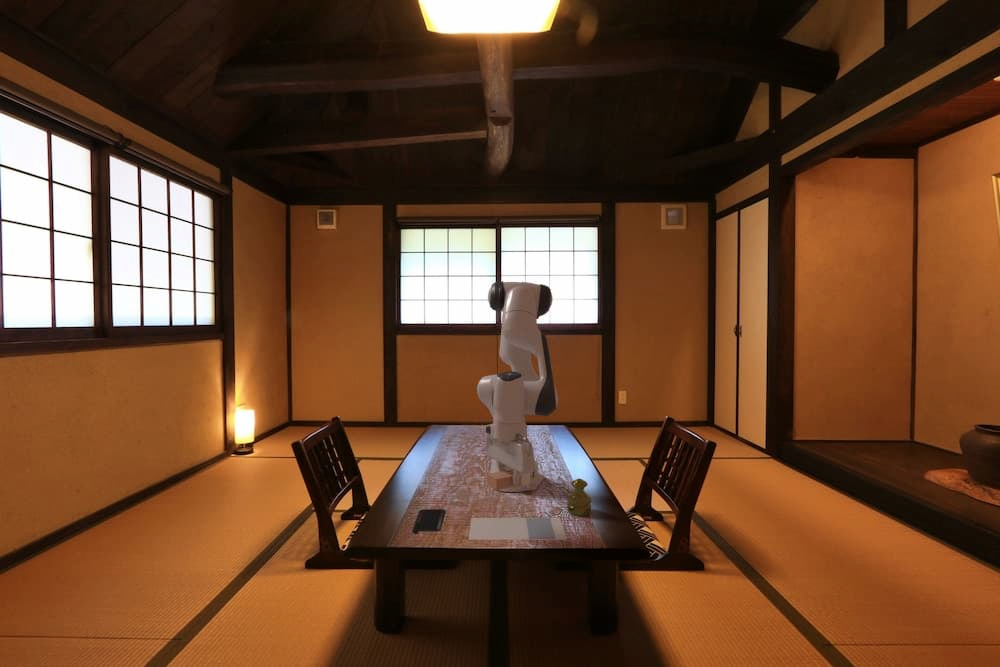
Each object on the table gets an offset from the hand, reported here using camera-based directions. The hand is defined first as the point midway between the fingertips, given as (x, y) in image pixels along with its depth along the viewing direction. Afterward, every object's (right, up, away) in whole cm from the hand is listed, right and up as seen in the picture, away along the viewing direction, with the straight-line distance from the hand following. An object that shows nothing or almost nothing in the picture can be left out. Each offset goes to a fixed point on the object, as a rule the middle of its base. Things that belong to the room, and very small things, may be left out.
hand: (508, 480), depth 136 cm
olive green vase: (+22, -14, +14) cm, 29 cm away
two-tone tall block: (0, -1, 0) cm, 1 cm away
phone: (-23, -14, +6) cm, 28 cm away
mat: (+2, -14, 0) cm, 14 cm away
